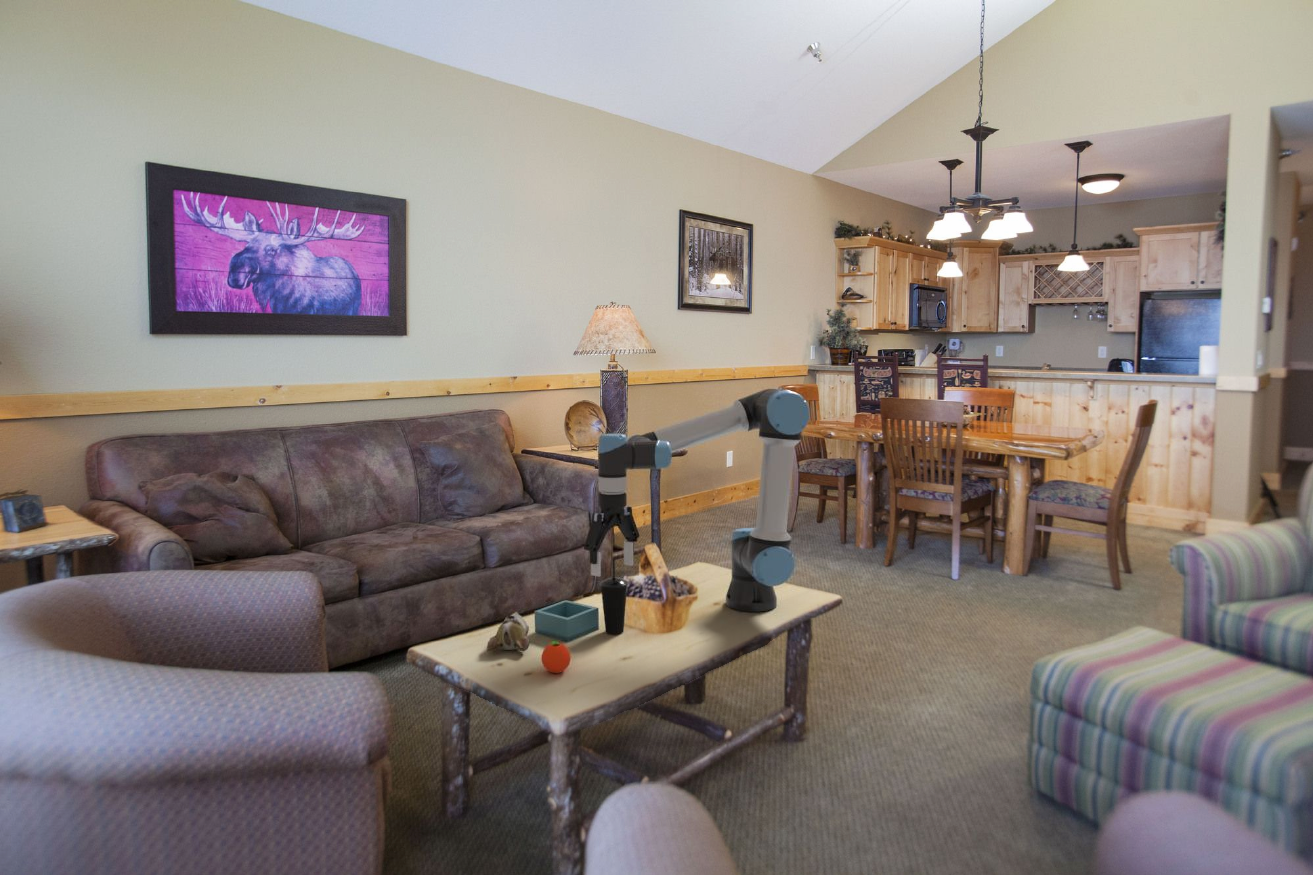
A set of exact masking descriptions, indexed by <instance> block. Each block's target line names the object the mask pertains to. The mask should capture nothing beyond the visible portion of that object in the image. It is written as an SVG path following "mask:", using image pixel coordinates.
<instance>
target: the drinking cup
mask: <svg viewBox="0 0 1313 875" xmlns="http://www.w3.org/2000/svg"><path fill="white" fill-rule="evenodd" d="M611 562H612V565H611V567H612V577H609V578H608V577H607V578H606V579H604V580H601V581H600V582H599V586H600V589H601V590H600V591H601V600H602V607H603V608H602V609H603V618H604V619H603V620H604V629H605V633H606V634H607V635H611V636H615V635H616V636H617V635H621V634H623V633H624V630H625V620H626V619H625V617H626V605H627V603H626V602H627V593H628V592H627V591H628V585H629V581H628V580H627V579H626V580H625V579H623V578H621V577H616V559H614V558H612V561H611Z"/></svg>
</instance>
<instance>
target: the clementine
mask: <svg viewBox="0 0 1313 875" xmlns="http://www.w3.org/2000/svg"><path fill="white" fill-rule="evenodd" d="M571 659H572V654H571V652H570V649H569V647H567V646H566V645H565V644H564V643H561V642H558V641H551V642H550V643H549V644H548V645H546V646H545V648H544V649H543V651H542V654H541V659H540V660H541V663H542V666H543V668H544V669H545V670H546V671H548V672H550V673H551V674H552V673H553V674H554V673H555V674H557V673H562V672H564V671H565V670H566V669H567V668H568V667H569V665H570V663H571Z"/></svg>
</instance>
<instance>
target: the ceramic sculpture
mask: <svg viewBox="0 0 1313 875" xmlns="http://www.w3.org/2000/svg"><path fill="white" fill-rule="evenodd" d="M529 627H530V626H529V625H528V624H527V622H526V620H525V619H524V618H523V616H522V615H520V614H519V613H518V612H517V611H515V612H513V613H512V614H511V615H509V616H506V617H505V619H504V621H503V622H502V623H501V624H500V626H499V627H498V628H497V631H496V634H495V635H494V636H492V637H490V638H489V640H488V641H487V645H486V646H487V647H486V651H487V652H489V653H494V652H497V651H498V650H500V649H503V650H505V651H515V650H517V651H519V652H526V651H527V650H528V649H529V647H530V637H529V636H528V633H529V631H530V628H529Z"/></svg>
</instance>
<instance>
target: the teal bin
mask: <svg viewBox="0 0 1313 875" xmlns="http://www.w3.org/2000/svg"><path fill="white" fill-rule="evenodd" d="M599 613H600V612H599V607H597V606H592V605H587V604H585V603H584V604H583V603H579V602H574V601H571V600H567V599H566V600H562V601H558V602H557V603H554V604H551V605H548V606H545V607H543V608H540V609H537V610H534V633H535V634H538V635H542V636H545V637H549V638H552V639H556V640H559V641H563V642H566V643H570V642H572V641H575V640H577V639H579V638H583V636H586V635H588V634H591V633H594V632H595V631H598V630H600V622H599V619H600V618H599V617H600V616H599V615H600V614H599Z"/></svg>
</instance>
